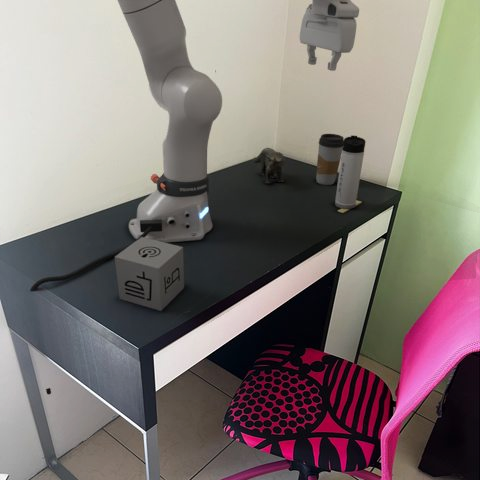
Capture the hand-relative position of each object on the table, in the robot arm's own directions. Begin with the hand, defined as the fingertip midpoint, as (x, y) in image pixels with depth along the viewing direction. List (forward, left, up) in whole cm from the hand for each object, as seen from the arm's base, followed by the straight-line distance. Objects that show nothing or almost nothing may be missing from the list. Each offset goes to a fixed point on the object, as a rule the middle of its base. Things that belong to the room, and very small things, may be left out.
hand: (321, 67), depth 130 cm
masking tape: (+10, -11, -37) cm, 40 cm away
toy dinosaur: (-2, +19, -37) cm, 42 cm away
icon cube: (-61, -35, -37) cm, 80 cm away
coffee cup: (+15, +10, -37) cm, 41 cm away
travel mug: (+9, -9, -37) cm, 39 cm away
